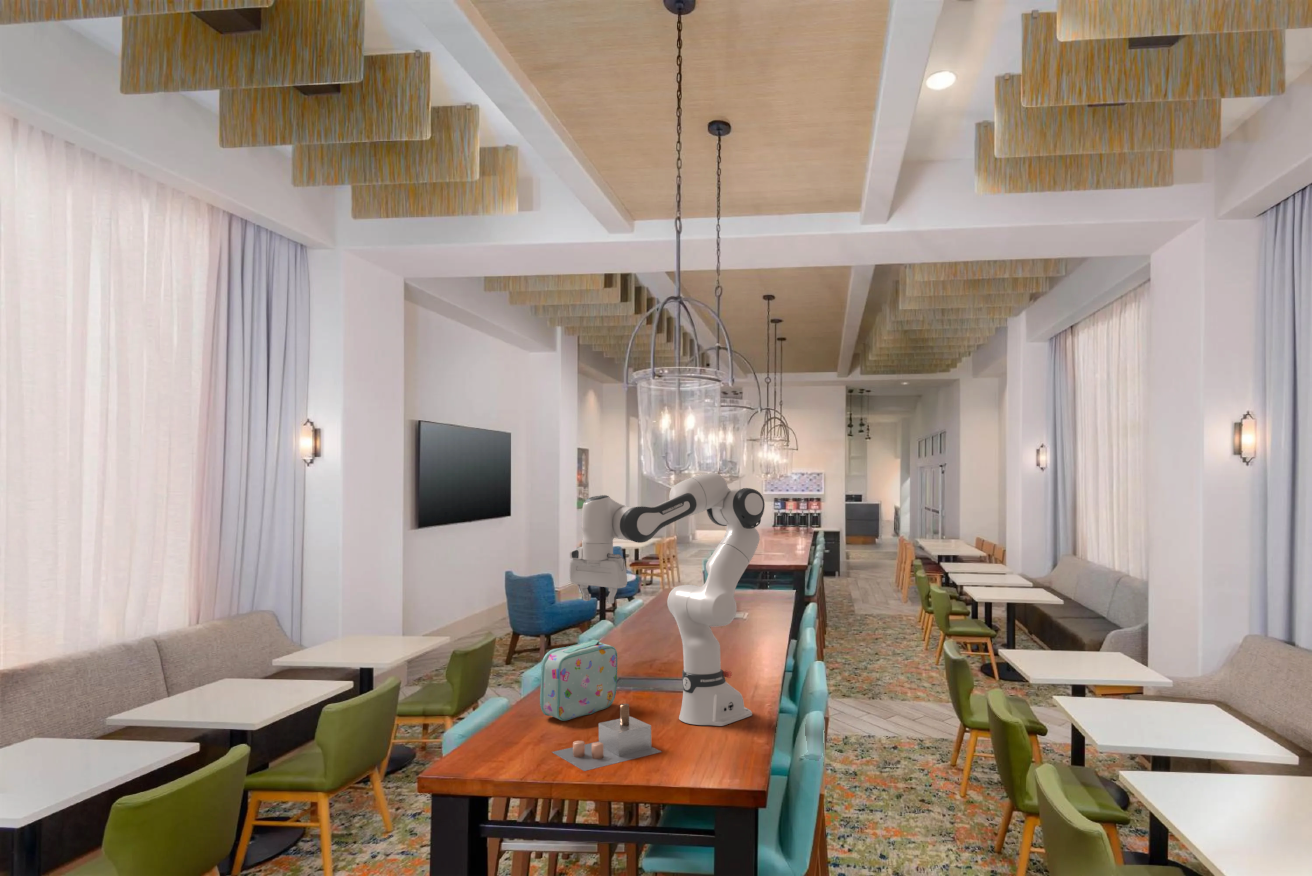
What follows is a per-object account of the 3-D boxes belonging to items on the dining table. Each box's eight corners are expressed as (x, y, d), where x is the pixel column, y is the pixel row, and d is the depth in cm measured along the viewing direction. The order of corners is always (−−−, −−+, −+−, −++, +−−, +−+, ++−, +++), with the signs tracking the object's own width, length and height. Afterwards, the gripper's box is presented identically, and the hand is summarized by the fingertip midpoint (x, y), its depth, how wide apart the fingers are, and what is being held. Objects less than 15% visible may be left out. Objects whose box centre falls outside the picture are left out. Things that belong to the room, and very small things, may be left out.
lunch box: (598, 700, 261) (597, 633, 262) (621, 705, 254) (620, 637, 255) (536, 720, 240) (536, 647, 241) (560, 726, 234) (560, 651, 235)
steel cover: (630, 739, 217) (630, 697, 218) (651, 748, 209) (650, 705, 210) (598, 746, 212) (598, 704, 212) (618, 756, 204) (618, 712, 204)
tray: (626, 739, 221) (626, 723, 221) (662, 756, 207) (661, 739, 207) (551, 756, 208) (551, 739, 208) (584, 776, 194) (584, 757, 194)
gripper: (631, 553, 224) (632, 603, 223) (581, 550, 237) (582, 597, 237) (615, 555, 219) (616, 606, 218) (565, 552, 233) (566, 600, 232)
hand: (598, 601), depth 228 cm, fingers open, 8 cm apart
